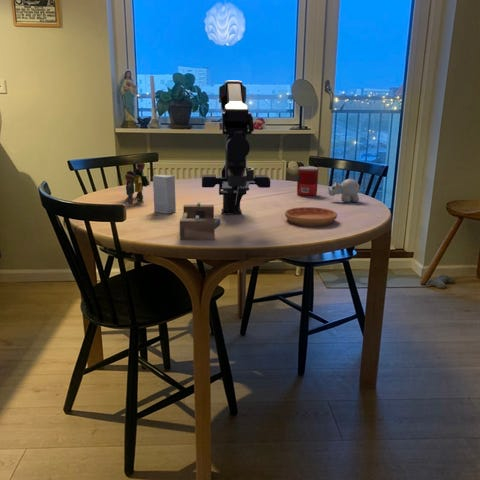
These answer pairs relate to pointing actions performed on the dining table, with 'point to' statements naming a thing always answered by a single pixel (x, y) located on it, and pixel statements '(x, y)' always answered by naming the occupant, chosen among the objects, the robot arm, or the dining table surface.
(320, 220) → the saucer
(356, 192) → the toy rhinoceros
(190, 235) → the open box
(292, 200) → the dining table surface
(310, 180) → the canned food
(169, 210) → the skincare box
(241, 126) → the robot arm
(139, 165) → the dark toy figure
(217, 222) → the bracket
